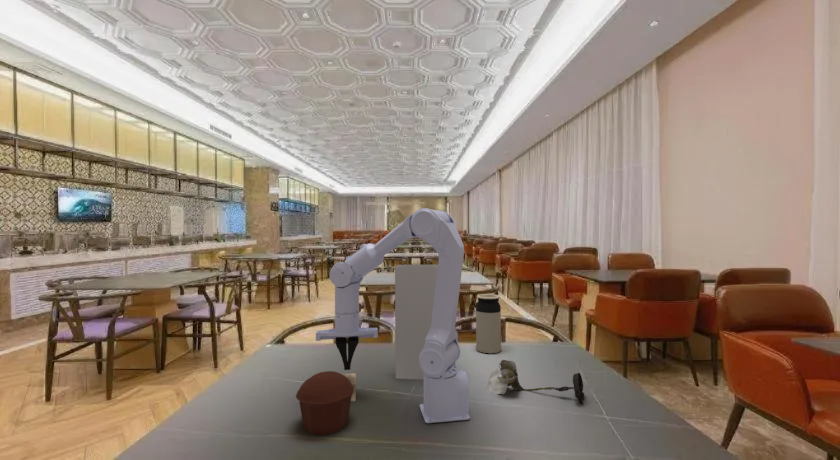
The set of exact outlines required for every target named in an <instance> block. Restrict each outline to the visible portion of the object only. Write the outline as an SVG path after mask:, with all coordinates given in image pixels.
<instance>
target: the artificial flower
mask: <svg viewBox="0 0 840 460" xmlns="http://www.w3.org/2000/svg"><path fill="white" fill-rule="evenodd" d="M498 365H499V366H498V367H499V368H494V369H493V370H492V371H491V372H490V373H489V375H488V381H489V383H490V384H489V385H488V386H487V392H488V393H490V394H495V395H504V394H505V393H506V392H507V390H508V386H509V387H511V388H512V389H513V390H514V391H515V390H518V391H527V392H533V391H541V390H550V391H551V390H555V391H558V392H567V391H569V390H573V391H574V397H575V399H577V400H579V403H580V404H584V401H585V392H584V387H585V386H584V382H583V378H582V375H581V373H580V372H577V373H574V374H573V376H572V383H573V386H571V387H569V386H566V385H564V386H561V387H554V386H549V387H547V386H546V387H537V388H523V387H522V386H521V384H520V381H519V376H518V371H517V365H516V362H515V361H513V360H506V359H501V361H500V362H499V364H498Z"/></svg>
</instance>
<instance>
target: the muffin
mask: <svg viewBox="0 0 840 460" xmlns="http://www.w3.org/2000/svg"><path fill="white" fill-rule="evenodd" d="M342 374H343V373H340V372H337V371H333V370H331V371H330V370H329V371H320V372H318V373H315V374H313V375H312V376H311V377H309V378H307V379H306V380H305V381H304V382H303V383H302V384H301V385H300V387H299V389H298V390H297V392H296V395H295V399H297V400H298V402H299V409H300V414H301V420H302V425H303V430H304V431H306V432H308V433H310V434H311V435H329V434H332V433H336V432H340V431H341V430H342V429H344V427H345V426H347V425H348V422H349V417H350V408H351V402H352V401H351V396H352V394H353V392H354V386H353V385H352V383H351V382H350V380H349V379H348V378H347V377H345V376H344V375H342Z"/></svg>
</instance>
